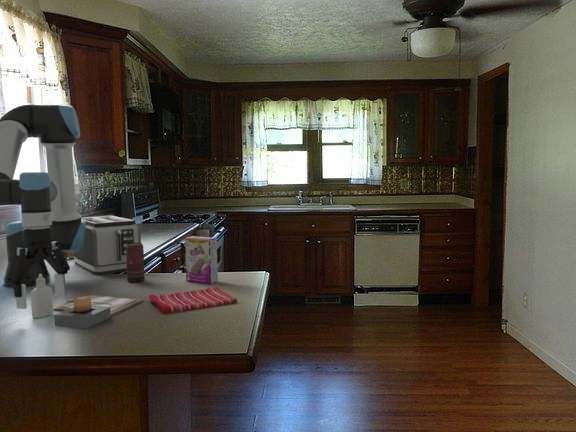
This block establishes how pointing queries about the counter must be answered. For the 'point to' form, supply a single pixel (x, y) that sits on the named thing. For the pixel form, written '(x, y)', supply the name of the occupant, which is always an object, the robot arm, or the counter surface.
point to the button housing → (82, 317)
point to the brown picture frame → (105, 303)
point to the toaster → (106, 244)
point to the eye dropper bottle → (41, 299)
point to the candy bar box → (201, 259)
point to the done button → (82, 303)
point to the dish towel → (191, 300)
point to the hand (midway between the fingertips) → (41, 302)
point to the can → (135, 262)
